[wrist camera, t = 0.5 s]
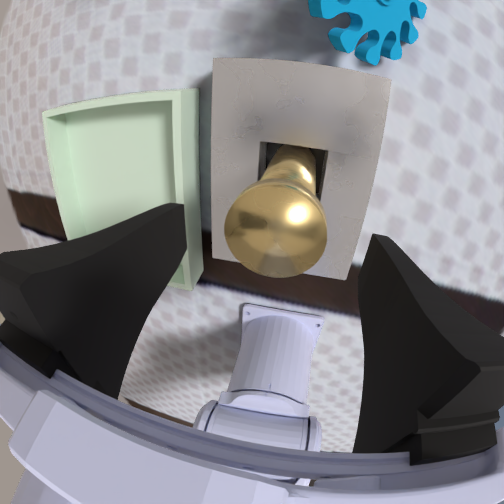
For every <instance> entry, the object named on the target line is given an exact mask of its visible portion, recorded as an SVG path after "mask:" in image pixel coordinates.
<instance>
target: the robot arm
mask: <svg viewBox="0 0 504 504" xmlns="http://www.w3.org/2000/svg"><path fill="white" fill-rule="evenodd" d="M186 250H187V238H186V225H185V211H184V204H179V203H166V204H163V205H160V206H157V207H155V208H152V209H150V210H148V211H145V212H143V213H141V214H138V215H136V216H134V217H131V218H129V219H127V220H124V221H122V222H119V223H117V224H115V225H112V226H110V227H108V228H105V229H102V230H100V231H97V232H94V233H91V234H88V235H85V236H83V237H79V238H76V239H72V240H68V241H65V242H61V243H58V244H53V245H49V246H44V247H39V248H33V249H27V250H19V251H10V252H3V253H1V254H0V312H1V313H2V315H3V317H4V318H5V320H4V322H3V323H2V324H0V417H1V418H2V419H3V420H4V422H5V423H6V424H7V425H8V426H9V427H10V428H11V429H12V430H13V433H12V435H11V437H10V439H9V443H8V445H9V447H10V450H11V453H12V454H13V455H14V456H15V457H16V458H17V459H18V460H19V462H20V463H21V464H22V465H23V466H25V468H26V469H25V471H24V473H23V475H22V478H21V480H20V482H19V484H18V486H17V489H16V491H15V494H14V496H13V498H12V501H11V503H10V504H497V503H499V502H501V501H503V500H504V427H502V428H500V429H498V430H496V431H495V425H494V423H496V422H497V421H499V418H500V416H499V411H498V409H500V408H501V407H502V406H503V405H504V337H502V336H501V335H499V334H498V333H496V332H495V331H493V330H492V329H490V328H489V327H487V326H485V325H484V324H483V323H481V322H480V321H478V320H477V319H476V318H474V317H473V316H472V315H470V314H469V313H468V312H467V311H465V310H464V309H463V308H461V307H460V306H459V305H458V304H456V303H455V302H454V301H453V300H452V299H451V298H450V297H449V296H447V295H446V294H445V293H444V292H443V291H442V290H441V289H440V288H439V287H437V286H436V285H435V284H434V283H433V282H432V281H431V280H430V279H429V278H428V277H427V276H426V275H425V274H424V273H423V272H422V271H421V269H420V268H419V267H418V266H417V265H416V264H415V263H414V262H413V261H412V260H411V259H410V258H409V257H408V256H407V255H406V254H405V253H404V252H403V250H402V249H401V248H400V247H399V246H398V245H397V244H396V243H395V242H394V241H393V240H391V239H390V238H389V237H388V236H383V235H378V234H372V237H371V240H370V243H369V247H368V250H367V253H366V256H365V259H364V262H363V265H362V268H361V271H360V273H359V276H358V300H359V308H360V317H361V325H362V334H363V343H364V380H363V392H362V402H361V409H360V416H359V423H358V429H357V434H356V438H355V443H354V448H353V452H352V453H330V452H320V447H321V438H322V427H321V424H320V423H319V421H318V420H317V418H316V417H315V416H309V408H310V406H309V405H306V404H307V396H308V388H309V379H310V369H311V359H312V354H313V351H314V348H315V346H316V343H317V340H318V338H319V335H320V332H321V329H322V327H323V324H324V318H323V317H321V316H315V315H309V314H303V313H297V312H291V311H285V310H279V309H273V308H268V307H262V306H257V305H251V304H245V305H244V306H243V314H242V336H241V347H240V350H239V354H238V357H237V360H236V364H235V367H234V370H233V373H232V377H231V380H230V383H229V386H228V390H227V392H224V391H222V392H221V395H220V398H219V401H215V400H211V401H209V402H208V403H207V404H205V405H204V406H203V407H202V408H201V409H200V411H199V413H198V415H197V417H196V419H195V422H194V425H193V428H191V427H188V426H185V425H182V424H178V423H175V422H172V421H169V420H167V419H164V418H161V417H158V416H155V415H153V414H150V413H147V412H145V411H142V410H140V409H137V408H135V407H132V406H130V405H128V404H125V403H123V402H120V401H118V396H119V392H120V388H121V385H122V381H123V378H124V374H125V371H126V368H127V365H128V363H129V360H130V357H131V354H132V351H133V349H134V346H135V344H136V341H137V339H138V337H139V334H140V332H141V330H142V328H143V325H144V323H145V321H146V319H147V317H148V315H149V313H150V311H151V310H152V308H153V306H154V305H155V303H156V301H157V300H158V298H159V297H160V295H161V294H162V292H163V291H164V289H165V288H166V286H167V284H168V283H169V281H170V280H171V278H172V277H173V275H174V274H175V272H176V270H177V269H178V267H179V265H180V263H181V261H182V259H183V257H184V254H185V252H186ZM308 416H309V417H308ZM101 420H102V421H101ZM103 421H104V422H103ZM105 422H106V423H105ZM107 423H108V424H107ZM109 424H110V425H109ZM124 431H125V432H124ZM133 435H134V436H133ZM140 438H141V439H140ZM145 440H146V441H145ZM150 442H151V443H150ZM155 444H156V445H155ZM166 448H167V449H166ZM310 479H316V480H317V481H315V482H314V486H313V487H309V482H310Z"/></svg>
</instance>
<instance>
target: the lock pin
mask: <svg viewBox="0 0 504 504" xmlns="http://www.w3.org/2000/svg"><path fill="white" fill-rule="evenodd" d="M315 191H316V161H315V157H314V155H313V153H312V152H311V150H310V149H309V148H307V147H303V146H296V145H289V144H285V145H283V146H281V147H280V148H279V149H278V150H277V151H276V153H275V154H274V156H273V158H272V160H271V162H270V163H269V165H268V167H267V169H266V171H265V172H264V174H263V176H262V178H261V180H260V181H257V182H255V183H253V184H251V185H249V186H248V187H246V188H245V189H244V190H243V191H242V192H241V193H240V194H239V195H238V197H237V198H236V200H235V201H234V203H233V204H232V206H231V208H230V209H229V211H228V213H227V216H226V219H225V223H224V235H225V239H226V242H227V245H228V247H229V249H230V251H231V252H232V254H233V255H234V256H235V258H236V259H237V260H238V261H239V262H240V263H241V264H243V265H244V266H245V267H247V268H248V269H250V270H252V271H254V272H256V273H258V274H261V275H264V276H269V277H277V278H283V277H291V276H295V275H298V274H301V273H303V272H305V271H307V270H309V269H310V268H311V267H313V266H314V265H315V264H316V263H317V262H318V261H319V259H320V258H321V256H322V255H323V253H324V251H325V247H326V243H327V220H326V214H325V211H324V208H323V206H322V204H321V203H320V201H319V200H318V198H317V197H316V196H315Z"/></svg>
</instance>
